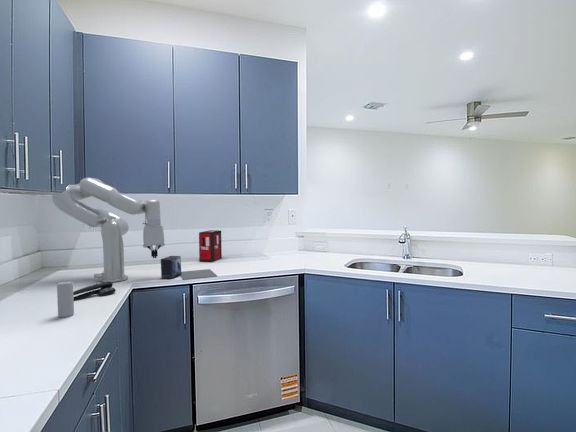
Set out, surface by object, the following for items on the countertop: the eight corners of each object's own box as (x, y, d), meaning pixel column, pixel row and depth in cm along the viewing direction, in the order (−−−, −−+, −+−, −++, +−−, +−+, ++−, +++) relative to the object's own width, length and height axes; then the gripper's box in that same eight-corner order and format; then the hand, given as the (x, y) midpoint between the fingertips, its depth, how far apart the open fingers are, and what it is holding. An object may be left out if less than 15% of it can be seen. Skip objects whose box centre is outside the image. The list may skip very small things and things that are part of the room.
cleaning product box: (211, 262, 226) (211, 232, 225) (199, 262, 228) (198, 232, 227) (221, 258, 242) (221, 230, 241) (210, 258, 244) (209, 230, 243)
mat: (182, 279, 176) (182, 279, 176) (178, 272, 194) (178, 271, 194) (217, 276, 184) (217, 275, 184) (209, 269, 202) (209, 269, 202)
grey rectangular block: (55, 316, 120) (53, 283, 120) (68, 312, 125) (67, 280, 124) (63, 318, 119) (62, 284, 118) (77, 314, 123) (76, 281, 122)
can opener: (110, 291, 155) (110, 279, 155) (117, 294, 151) (116, 281, 150) (66, 300, 142) (65, 286, 142) (71, 303, 137) (71, 289, 137)
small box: (172, 278, 177) (170, 259, 177) (160, 278, 179) (159, 259, 178) (182, 274, 188) (181, 255, 187) (171, 274, 189) (170, 255, 188)
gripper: (137, 224, 172) (139, 260, 173) (168, 222, 178) (170, 257, 179) (137, 223, 179) (139, 258, 179) (167, 222, 185) (168, 255, 186)
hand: (154, 257), depth 179 cm, fingers closed
